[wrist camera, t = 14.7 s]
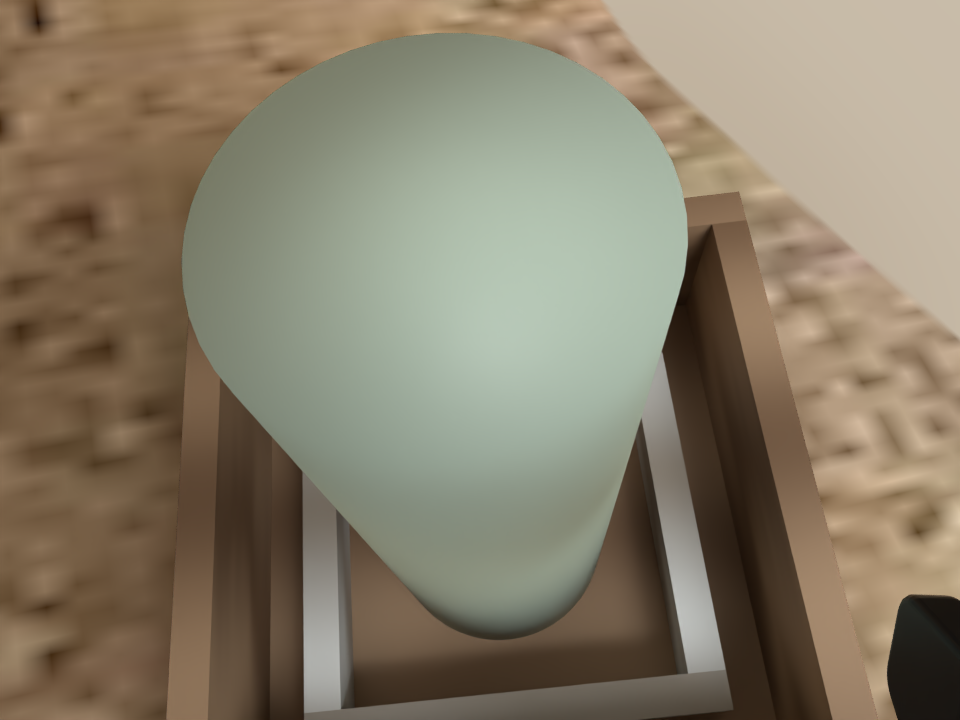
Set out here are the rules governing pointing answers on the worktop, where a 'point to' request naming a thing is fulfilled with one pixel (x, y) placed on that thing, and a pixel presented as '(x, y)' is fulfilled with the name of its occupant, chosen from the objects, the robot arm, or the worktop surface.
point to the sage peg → (447, 306)
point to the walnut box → (611, 592)
